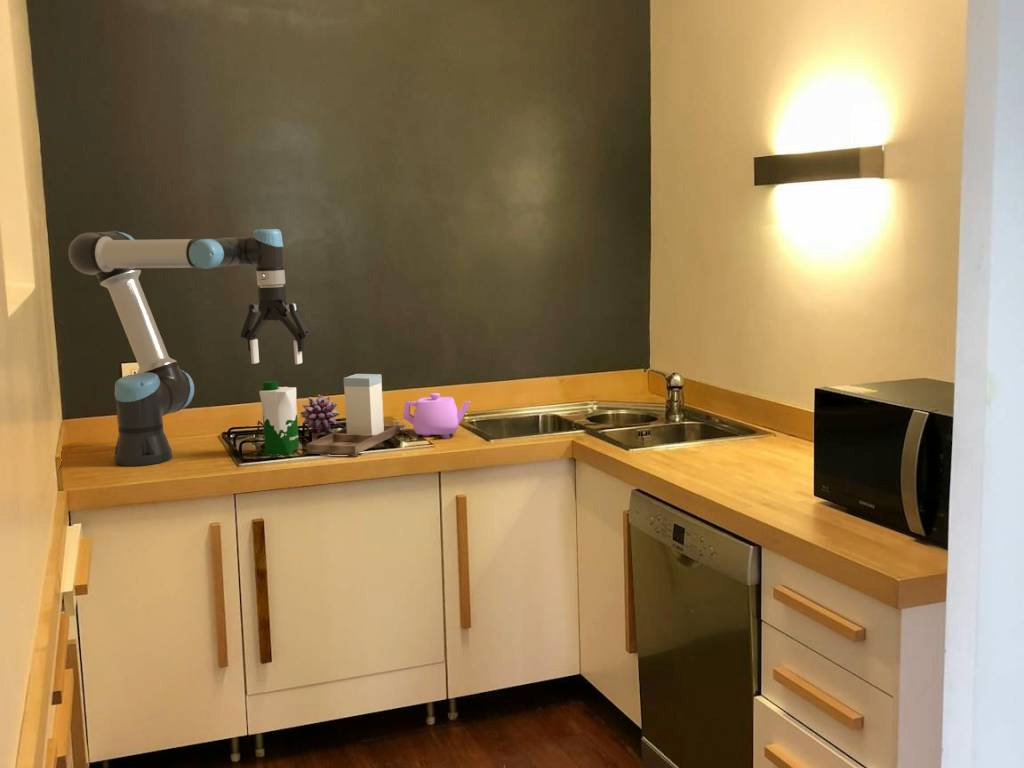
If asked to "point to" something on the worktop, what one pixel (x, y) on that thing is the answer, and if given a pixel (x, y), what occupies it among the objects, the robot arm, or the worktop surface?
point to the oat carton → (364, 404)
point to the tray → (349, 442)
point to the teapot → (435, 415)
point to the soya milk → (279, 418)
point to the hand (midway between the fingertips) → (277, 363)
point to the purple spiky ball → (319, 414)
